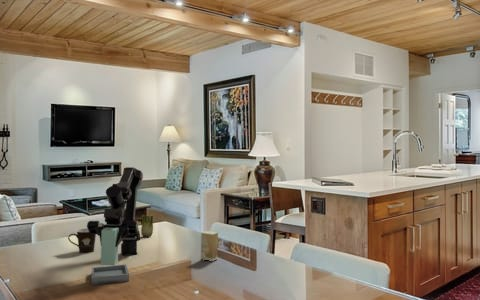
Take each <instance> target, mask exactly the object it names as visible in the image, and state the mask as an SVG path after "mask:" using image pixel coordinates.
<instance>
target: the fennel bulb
mask: <svg viewBox="0 0 480 300" xmlns="http://www.w3.org/2000/svg"><path fill="white" fill-rule="evenodd" d="M141 223H142V224H141V227H140V229H141V230H140V235H141V236H142V237H143V236H144V237H145V238H150V237H152V235H153V233H154V215H150V214H149V215H146V214H145V215H141ZM149 236H150V237H149Z"/></svg>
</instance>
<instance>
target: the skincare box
mask: <svg viewBox="0 0 480 300" xmlns="http://www.w3.org/2000/svg"><path fill="white" fill-rule="evenodd" d="M200 235H201V236H200V238H201V240H200V241H201V243H200V260H201V259H204V260H211V261H213V260H214V259H216V258H217V259H218V241H219V240H218V239H219V233H218V232H215V231H209V230H206V231H203V232H201V234H200ZM204 260H203V261H204Z"/></svg>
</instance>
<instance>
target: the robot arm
mask: <svg viewBox="0 0 480 300" xmlns="http://www.w3.org/2000/svg"><path fill="white" fill-rule="evenodd" d="M143 178H144V174H143V171H142V170H140V169H137V168H135V167H129V166H127V167H124V168H123V172H122V175H121V177H120V180H119V182H118V183H112V185H111V186H109V187H107V189H106V190H105V195H106V197H107V201H108V204H109V205H110V207H109V208H105V209H104V212H103V218H104V223H102V222H100V221H99V220H89V221H88V222H87V224H86V228H88V231H89V233H90V234H96V236H98V237H99V242H100V243H99V244H101V236H102V230H103V229H104V228H106V227H107V228H119V234H118V237H117V241H116V247H117V246H118V247H119V245H120V254H122V256H134V255H138V250H137V249H138V243H137V242H138V241H141V231H140V230H139V225H138V222H137V220H136V207H137V206H136V205H137V194H138V189H139V187H140V186H141V185H142V181H143ZM121 242H122V243H121Z"/></svg>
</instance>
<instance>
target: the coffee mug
mask: <svg viewBox="0 0 480 300" xmlns="http://www.w3.org/2000/svg"><path fill="white" fill-rule="evenodd" d="M71 236H75V237H76V239H77V243H76V242H73V241H72V240H71V239H70V237H71ZM96 237H97V234H90V233H89V231H88V228H87V227H86V228H80V229H77V230H76V233H71V234H69V235H68V236H67V240H68V241H69V242H70V243H71V244H73V245H74V246H76V247H78V250H79V251H78V252H79V254H80V253H81V254H90V253H91V254H92V253H94V251H95V243H96Z"/></svg>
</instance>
